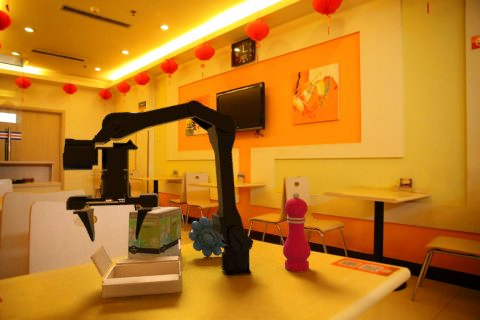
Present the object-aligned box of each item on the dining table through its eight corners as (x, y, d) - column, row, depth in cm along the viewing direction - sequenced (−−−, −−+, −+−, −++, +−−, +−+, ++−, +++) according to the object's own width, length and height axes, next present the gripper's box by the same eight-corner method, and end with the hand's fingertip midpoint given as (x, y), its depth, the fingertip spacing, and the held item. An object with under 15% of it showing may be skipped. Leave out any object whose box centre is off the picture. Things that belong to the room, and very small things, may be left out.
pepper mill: (279, 270, 82) (279, 192, 83) (286, 263, 89) (285, 191, 90) (308, 273, 80) (307, 193, 80) (312, 265, 86) (312, 191, 87)
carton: (181, 270, 83) (181, 255, 83) (182, 298, 65) (182, 279, 65) (115, 275, 80) (115, 259, 80) (97, 305, 62) (97, 285, 62)
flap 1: (102, 245, 75) (100, 246, 75) (91, 256, 66) (89, 257, 66) (112, 262, 76) (111, 263, 75) (103, 276, 66) (101, 277, 66)
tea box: (160, 267, 86) (160, 212, 86) (126, 265, 88) (126, 211, 88) (182, 253, 100) (182, 206, 101) (152, 251, 102) (152, 205, 103)
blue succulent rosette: (187, 261, 91) (187, 219, 92) (189, 255, 98) (189, 215, 98) (227, 260, 92) (227, 218, 92) (227, 254, 99) (227, 215, 99)
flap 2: (180, 259, 79) (181, 258, 79) (180, 271, 69) (182, 271, 69) (178, 239, 79) (180, 239, 79) (178, 249, 69) (180, 248, 69)
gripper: (160, 169, 81) (160, 231, 81) (81, 170, 78) (80, 235, 77) (157, 169, 70) (157, 241, 70) (65, 170, 67) (64, 245, 66)
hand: (115, 240), depth 71 cm, fingers open, 9 cm apart
